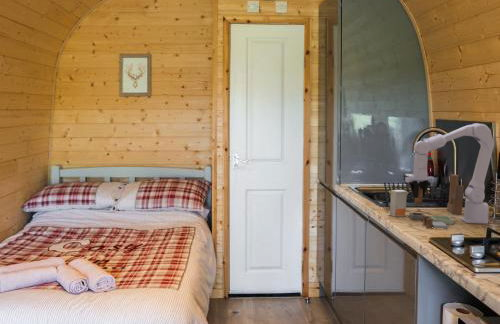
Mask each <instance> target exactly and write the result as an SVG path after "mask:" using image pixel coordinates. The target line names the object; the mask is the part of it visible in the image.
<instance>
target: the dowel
mask: <svg viewBox="0 0 500 324" xmlns="http://www.w3.org/2000/svg"><path fill="white" fill-rule="evenodd" d="M422 194H423V189H422V188H420V187H419V190H418V197H417V198H415V197H414V205H422V204H423V197H422Z"/></svg>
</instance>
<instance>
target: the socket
mask: <svg viewBox="0 0 500 324" xmlns="http://www.w3.org/2000/svg"><path fill="white" fill-rule="evenodd" d="M408 214H409V215H408V217H409V218H410V219H411V221H412V220H413V221H415V220H417V221H423V217H424V216H427V215H426V214H425V213H424V212H408Z"/></svg>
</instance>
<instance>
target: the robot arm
mask: <svg viewBox="0 0 500 324" xmlns="http://www.w3.org/2000/svg"><path fill="white" fill-rule="evenodd" d="M465 136H467V137H472V138H474V139H475V140H476V141H477V142H478V143H479V145H480V148H479V152H478V155H477V159H476V162H475V167H474V171H473V175H472V178H471V180H470V181H469V183H468V186H467V187H466V188H465V190H464V196H465V197H466V199H465V202H464V213H463V217H460V220H462V221H464V222H465V223H466V224H468V223H469V224H489V222H488V220H489V204H488V203H487V202H484V200H485V198H486V197H485V196H486V194H485V189H486V188H485V187H486V186H485V179H486V176H487V173H488V169H489V166H490V162H491V158H492V154H493V151H494V147H495V141H494V138H493V134H492V130H491V129H490V128H489V127H488V126H487V125H486V124H484V123H478V122H475V123H472V124H467V125H465V126H462V127H459V128H458V129H455V130H452V131H451V132H447V133H446V134H440V133H434V134H433V136H431V137H427V138H423V140H420V141H417V142H416V143H415V144H414V146H413V150H414V159H413V173H412V174H413V175H412V176H408V177H405V180H404V182H406V183H408V184H409V186H410V189H411V192H412V197H413V198H414V199H415V198H417V197H418V190H419V188H422V189H423V194H422V198H425V195H426V193H427V190H428V189H429V187H430V185H431V182H434V181H435V177H434V176H427V174H428V159H429V157H428V155H429V154H428V153H430V152H431V151H435V150H437V149H440V148H442V147H444V146H446V143H447V142H450V141H453V140H455V139H459V138H462V137H465Z"/></svg>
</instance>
